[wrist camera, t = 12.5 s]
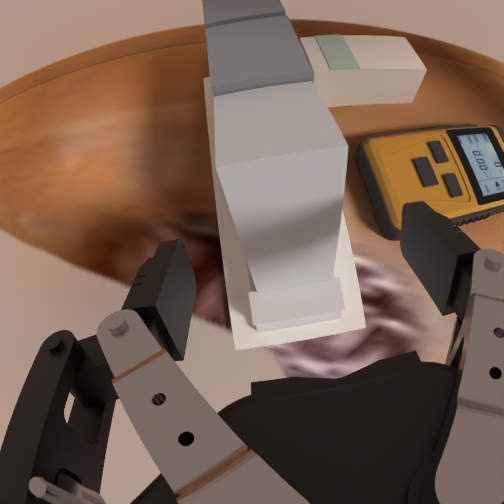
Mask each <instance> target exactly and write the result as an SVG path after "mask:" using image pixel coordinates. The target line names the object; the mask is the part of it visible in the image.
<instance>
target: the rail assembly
mask: <svg viewBox="0 0 504 504" xmlns="http://www.w3.org/2000/svg"><path fill="white" fill-rule="evenodd" d="M203 9H204V21H205V27H206V29H205V33H206V43H207V54H208V64H209V74H210V77H206V78H203V80H204V92H205V103H206V114H207V125H208V135H209V145H210V155H211V165H212V174H213V183H214V192H215V201H216V210H217V218H218V227H219V235H220V243H221V251H222V259H223V267H224V275H225V282H226V290H227V297H228V304H229V311H230V318H231V325H232V332H233V339H234V346H235V350H239V349H247V348H255V347H262V346H269V345H276V344H282V343H288V342H295V341H301V340H306V339H312V338H317V337H323V336H328V335H333V334H338V333H343V332H348V331H353V330H358V329H362V328H366V325H365V318H364V312H363V306H362V300H361V295H360V289H359V284H358V279H357V273H356V268H355V263H354V259H353V254H352V249H351V245H350V240H349V236H348V231H347V227H346V223H345V218H344V214H343V210H342V215H341V223H340V231H339V238H338V245H337V252H336V259H335V265H334V272H333V278H332V280H330V281H325V282H319V283H314V284H308V285H302V286H296V287H291V288H285V289H279V290H273V291H267V292H261V293H257V290H256V287H255V284H254V281H253V278H252V275H251V272H250V269H249V266H248V263H247V260H246V257H245V254H244V251H243V248H242V246H241V243H240V240H239V237H238V234H237V230H236V227H235V224H234V222H233V219H232V216H231V213H230V210H229V207H228V204H227V201H226V198H225V195H224V192H223V189H222V186H221V182H220V179H219V176H218V173H217V170H216V164H215V128H214V97H215V96H220V95H224V94H229V93H234V92H239V91H245V90H250V89H256V88H262V87H269V86H276V85H283V84H290V83H299V82H308V81H311V74H312V71H311V69H310V66H309V64H308V61H307V59H306V56H305V54H304V52H303V49H302V47H301V45H300V42H299V40H298V38H297V36H296V33H295V31H294V29H293V27H292V25H291V22H290V20H289V18H288V16H285V10H284V8H283V6H282V4H281V2H280V0H203Z"/></svg>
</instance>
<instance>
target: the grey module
mask: <svg viewBox="0 0 504 504" xmlns="http://www.w3.org/2000/svg"><path fill="white" fill-rule="evenodd" d="M214 128H215V164H216V170H217V173H218V176H219V179H220V182H221V186H222V189H223V192H224V195H225V198H226V201H227V204H228V207H229V210H230V213H231V216H232V219H233V222H234V224H235V227H236V230H237V234H238V237H239V240H240V243H241V246H242V248H243V251H244V254H245V257H246V260H247V263H248V266H249V269H250V272H251V275H252V278H253V281H254V284H255V287H256V290H257V293H261V292H267V291H273V290H279V289H285V288H291V287H296V286H302V285H308V284H314V283H319V282H325V281H330V280H332V278H333V272H334V265H335V259H336V252H337V245H338V238H339V231H340V223H341V215H342V207H343V198H344V189H345V179H346V168H347V157H348V144H347V142H346V140H345V139H344V137H343V135H342V133H341V131H340V129H339V127H338V125H337V124H336V122H335V120H334V118H333V116H332V114H331V113H330V111H329V109H328V107H327V106H326V104H325V102H324V100H323V99H322V97H321V95H320V94H319V92H318V90H317V88H316V87H315V85H314V84H313V82H312V81H308V82H299V83H290V84H283V85H276V86H269V87H262V88H256V89H250V90H245V91H239V92H234V93H229V94H224V95H220V96H215V97H214Z"/></svg>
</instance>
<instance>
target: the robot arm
mask: <svg viewBox="0 0 504 504" xmlns="http://www.w3.org/2000/svg"><path fill="white" fill-rule="evenodd" d="M400 246H401V251H402V254H403V257H404V258H405V260H406V261H407V262H408V264H409V265H410V267H411V268H412V270H413V271H414V272H415V274H416V275H417V277H418V278H419V280H420V281H421V283H422V284H423V286H424V287H425V289H426V290H427V292H428V293H429V295H430V297H431V298H432V300H433V301H434V303H435V304H436V306H437V307H438V309H439V311H440V312H441V314H442V316H444V315H448V314H451V313H454V312H455V313H456V314H457V317H456V320H455V323H454V328H453V333H452V337H451V342H450V346H449V351H448V355H447V359H446V363H445V364H441V363H435V362H421V361H420V358H419V356H418V354H417V352H416V351H412V352H409V353H405V354H401V355H398V356H394V357H390V358H386V359H382V360H378V361H376V362H374V363H372V364H370V365H368V366H366V367H364V368H362V369H360V370H358V371H355V372H353V373H351V374H349V375H347V376H344V377H342V378H336V379H332V378H304V377H290V378H283V379H275V380H268V381H260V382H251V395H249V396H246V397H243V398H241V399H239V400H237V401H235V402H233V403H231V404H229V405H228V406H226V407H225V408H224V409H222V410H221V411H219V412H218V413H216V412H215V411H214V409H213V408H212V407H211V406H210V405H209V404H208V402H207V401H206V400H205V399H204V398H203V397H202V396H201V394H200V393H199V392H198V390H197V389H196V388H195V387H194V386H193V384H192V383H191V382H190V381H189V379H188V378H187V377H186V376H185V374H184V373H183V372H182V371H181V369H180V368H179V367H178V365H177V364H176V363H175V361H183V360H184V354H185V348H186V343H187V338H188V332H189V326H190V321H191V316H192V310H193V305H194V300H195V295H196V279H195V275H194V272H193V269H192V266H191V263H190V260H189V257H188V254H187V252H186V249H185V246H184V243H183V241H182V240H181V239H177V240H171V241H166V242H161V243H160V244H159V246H158V248H157V250H156V253H155V255H154V257H153V258H149V259H148V260H147V261H146V262H145V263H144V264H143V265H142V266H141V267H140V269H139V271H138V273H137V275H136V278H135V280H134V282H133V284H132V285H133V286H131V289H130V291H129V293H128V295H127V298H126V300H125V302H124V305H123V307H122V309H121V310H120V311H117V312H114V313H112V314H110V315H109V316H108V317H106V318H105V319H104V320H103V321H102V322H101V324H100V325H99V327H98V329H97V335H94V336H91V337H88V338H85V339H82V340H79V341H77V339H76V338H75V336H74V335H73V334H72V333H71V332H70V331H67V330H62V331H58V332H56V333H54V334H52V335H51V336H49V337H48V338H47V339H46V340H45V341H44V342H43V344H42V346H41V347H40V349H39V352H38V354H37V356H36V358H35V360H34V362H33V365H32V367H31V369H30V371H29V374H28V376H27V378H26V381H25V383H24V386H23V388H22V391H21V393H20V396H19V398H18V401H17V403H16V406H15V409H14V411H13V414H12V417H11V420H10V423H9V425H8V428H7V431H6V435H5V437H4V441H3V444H2V447H1V450H0V504H106V503H105V501H104V499H103V498H102V497H101V495H100V487H101V480H102V473H103V467H104V460H105V454H106V449H107V443H108V437H109V432H110V427H111V421H112V417H113V412H114V407H115V402H116V399H120V400H121V403H122V405H123V407H124V409H125V411H126V413H127V414H128V416H129V418H130V420H131V422H132V424H133V426H134V428H135V429H136V431H137V433H138V435H139V436H140V438H141V440H142V442H143V444H144V445H145V447H146V449H147V450H148V452H149V454H150V456H151V457H152V459H153V460H154V462H155V464H156V465H157V467H158V468H159V470H160V472H161V474H160V475H159V476H158V477H157V478H156V479H155V480H154V481H153V482H152V483H151V484H150V485H149V486H148V487H147V488H146V489H145V490H144V491H143V492H142V493H141V494H140V495H139V496H138V497H137V498H136V499H134V501H132V502H131V503H130V504H504V254H502V253H500V252H498V251H496V250H492V249H480V248H479V247H478V246H477V245H476V244H475V243H474V242H473V241H472V240H471V239H470V238H469V237H468V236H467V235H466V234H465V233H464V232H462V230H461V229H460V228H459V227H458V226H456V224H455V223H453V222H452V221H451V220H450V219H449V218H448V217H446V216H444V215H442V214H440V213H438V212H436V211H434V210H433V209H432V208H431V207H430V206H429V205H428V204H427V203H425V202H424V201H417V202H410V203H405V204H404V205H403V208H402V221H401V236H400ZM69 392H70V393H71V394H72V395H73V396H74V397H75V399H74V403H73V406H72V410H71V413H70V417H69V421H68V424H67V423H66V421H65V418H64V408H65V405H66V401H67V398H68V395H69Z"/></svg>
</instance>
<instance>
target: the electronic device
mask: <svg viewBox="0 0 504 504" xmlns="http://www.w3.org/2000/svg"><path fill="white" fill-rule="evenodd" d="M356 160H357V164H358V167H359V169H360V172H361V174H362V177H363V180H364V183H365V185H366V188H367V191H368V194H369V196H370V199H371V202H372V205H373V208H374V211H375V214H376V217H377V220H378V223H379V226H380V230H381V232H382V234H383V235H384V237H386V238H387V239H389V240H395V241H398V240H400V236H401V221H402V208H403V205H404V204H405V203H410V202H417V201H424V202H425V203H427V204H428V205H429V206H430V207H431V208H432V209H433V210H434V211H436V212H438V213H440V214H442V215H444V216H446V217H448V218H449V219H450V220H451V221H452V222H453V223H455V224H456V226H458V225H459V226H462V225H463V224H468V223H470V222H472V223H473V222H475V221H480V220H481V219H486V218H488V217H489V216H491V215H494V214H498V213H501V212H504V133H503V131H502V129H501V128H500V127H499V126H496V125H491V126H478V127H477V125H463V126H449V127H438V128H427V129H418V130H409V131H400V132H392V133H385V134H378V135H371V136H367V137H365V138H364V139H363V140H362V141H361V143H360V144H359V147H358V149H357V152H356Z"/></svg>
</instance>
